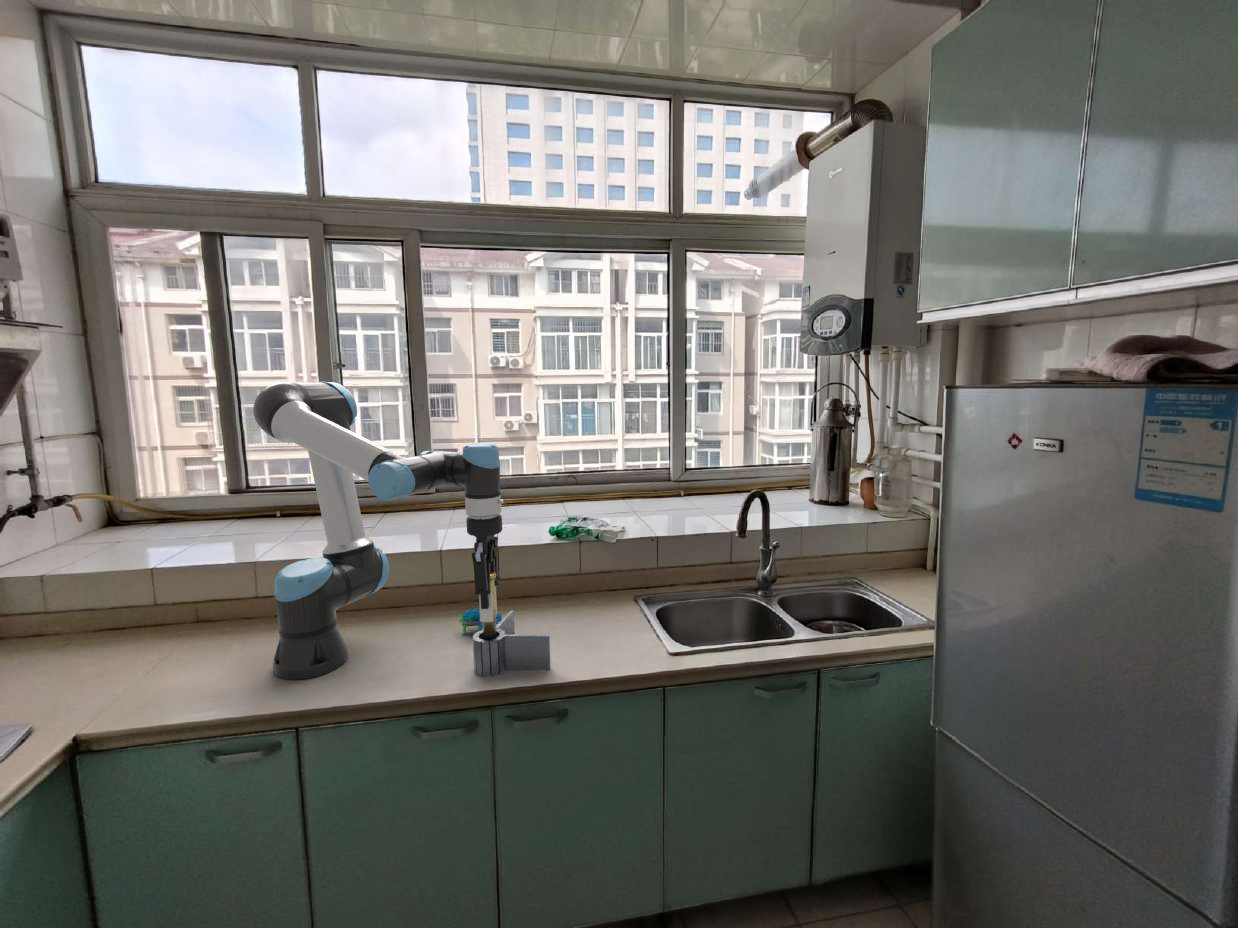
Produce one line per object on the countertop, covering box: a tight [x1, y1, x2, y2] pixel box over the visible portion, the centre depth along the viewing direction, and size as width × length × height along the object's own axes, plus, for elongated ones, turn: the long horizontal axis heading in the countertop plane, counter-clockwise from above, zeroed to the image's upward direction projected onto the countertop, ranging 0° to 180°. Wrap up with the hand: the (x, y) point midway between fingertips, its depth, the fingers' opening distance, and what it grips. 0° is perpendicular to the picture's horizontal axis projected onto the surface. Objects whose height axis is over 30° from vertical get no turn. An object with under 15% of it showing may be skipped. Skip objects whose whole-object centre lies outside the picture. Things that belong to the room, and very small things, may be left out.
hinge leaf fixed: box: [472, 629, 551, 678], centre depth 129 cm, size 17×7×8 cm, turn 89°
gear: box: [458, 608, 503, 636], centre depth 147 cm, size 11×6×10 cm
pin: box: [482, 572, 497, 638], centre depth 127 cm, size 4×4×14 cm
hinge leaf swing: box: [496, 610, 516, 634], centre depth 138 cm, size 10×1×8 cm, turn 169°
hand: (488, 617), depth 128 cm, fingers closed on pin, 3 cm apart
